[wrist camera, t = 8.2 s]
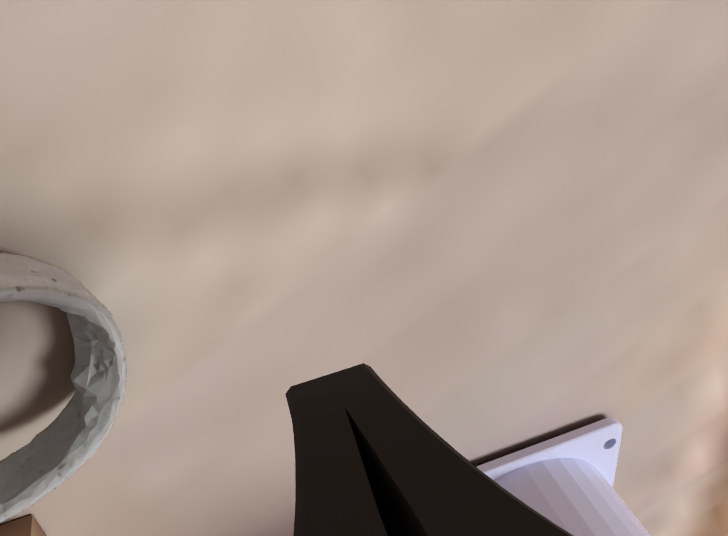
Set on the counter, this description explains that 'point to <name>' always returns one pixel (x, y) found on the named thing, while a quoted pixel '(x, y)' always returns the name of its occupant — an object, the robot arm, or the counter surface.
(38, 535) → the mug dock
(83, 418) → the ceramic mug
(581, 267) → the counter surface
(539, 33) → the counter surface
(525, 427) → the counter surface
